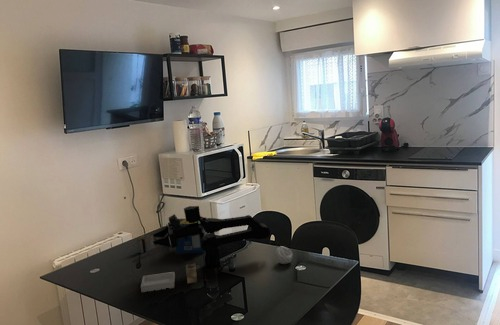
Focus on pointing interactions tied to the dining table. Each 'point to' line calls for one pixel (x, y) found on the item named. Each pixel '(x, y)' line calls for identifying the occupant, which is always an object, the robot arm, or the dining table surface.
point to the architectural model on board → (146, 243)
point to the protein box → (189, 242)
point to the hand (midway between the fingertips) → (153, 238)
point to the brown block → (191, 273)
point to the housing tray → (158, 281)
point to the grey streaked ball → (283, 255)
